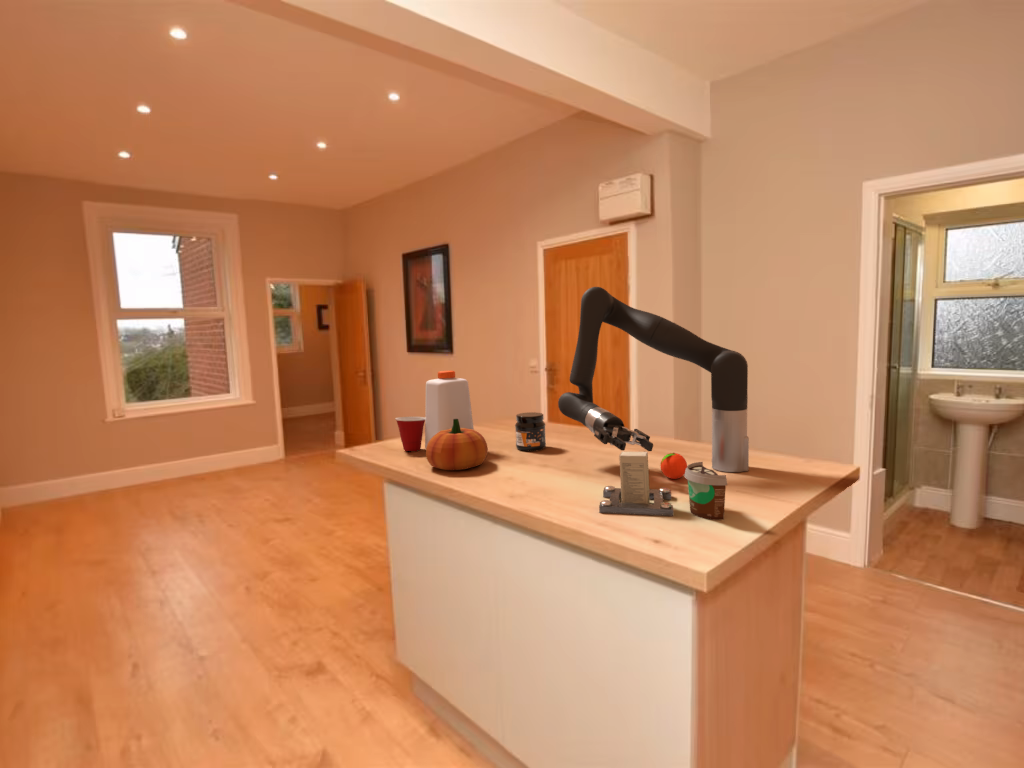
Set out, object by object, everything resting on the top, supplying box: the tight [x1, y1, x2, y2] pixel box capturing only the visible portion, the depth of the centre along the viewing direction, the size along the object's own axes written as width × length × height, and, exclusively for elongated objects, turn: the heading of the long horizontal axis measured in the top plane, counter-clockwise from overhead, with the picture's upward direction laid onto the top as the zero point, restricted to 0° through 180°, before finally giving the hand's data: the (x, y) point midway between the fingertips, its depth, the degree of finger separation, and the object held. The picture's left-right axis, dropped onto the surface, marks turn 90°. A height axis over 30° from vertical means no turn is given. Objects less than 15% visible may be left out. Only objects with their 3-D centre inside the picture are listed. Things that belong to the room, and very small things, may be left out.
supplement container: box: [514, 411, 547, 452], centre depth 186 cm, size 10×10×12 cm
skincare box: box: [618, 451, 651, 504], centre depth 125 cm, size 6×4×12 cm
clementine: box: [659, 452, 688, 480], centre depth 144 cm, size 8×7×7 cm
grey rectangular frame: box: [598, 485, 674, 517], centre depth 125 cm, size 16×14×2 cm
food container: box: [683, 461, 728, 521], centre depth 118 cm, size 12×6×10 cm, turn 5°
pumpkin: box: [425, 419, 489, 471], centre depth 166 cm, size 19×19×15 cm
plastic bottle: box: [424, 370, 475, 450], centre depth 187 cm, size 15×15×28 cm
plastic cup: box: [394, 416, 425, 452], centre depth 191 cm, size 11×11×12 cm
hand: (638, 447), depth 135 cm, fingers open, 8 cm apart
